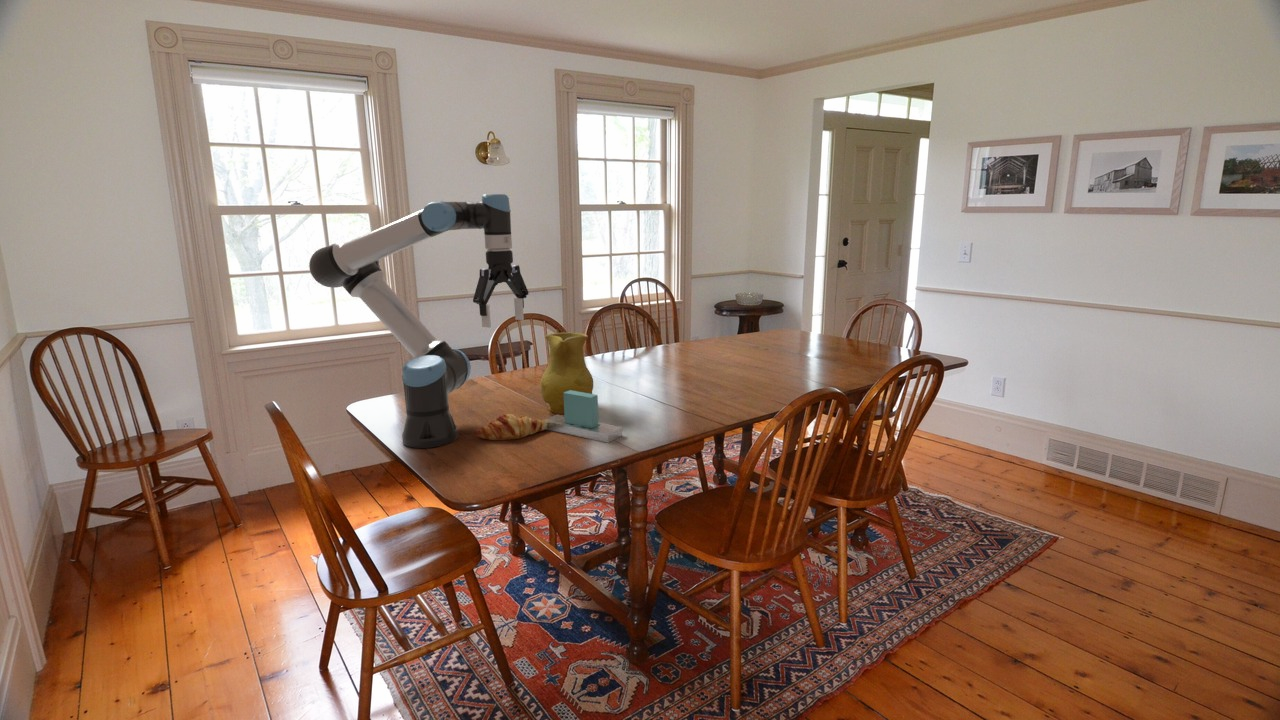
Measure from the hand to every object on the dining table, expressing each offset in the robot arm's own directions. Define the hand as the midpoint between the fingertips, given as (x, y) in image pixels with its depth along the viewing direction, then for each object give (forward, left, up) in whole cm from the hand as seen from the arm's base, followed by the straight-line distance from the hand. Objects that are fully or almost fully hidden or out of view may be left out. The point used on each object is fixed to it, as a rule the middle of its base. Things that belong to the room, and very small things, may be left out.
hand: (503, 323), depth 190 cm
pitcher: (+24, -4, -32) cm, 40 cm away
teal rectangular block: (+7, -22, -31) cm, 39 cm away
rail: (+7, -22, -32) cm, 39 cm away
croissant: (-6, -6, -32) cm, 33 cm away
